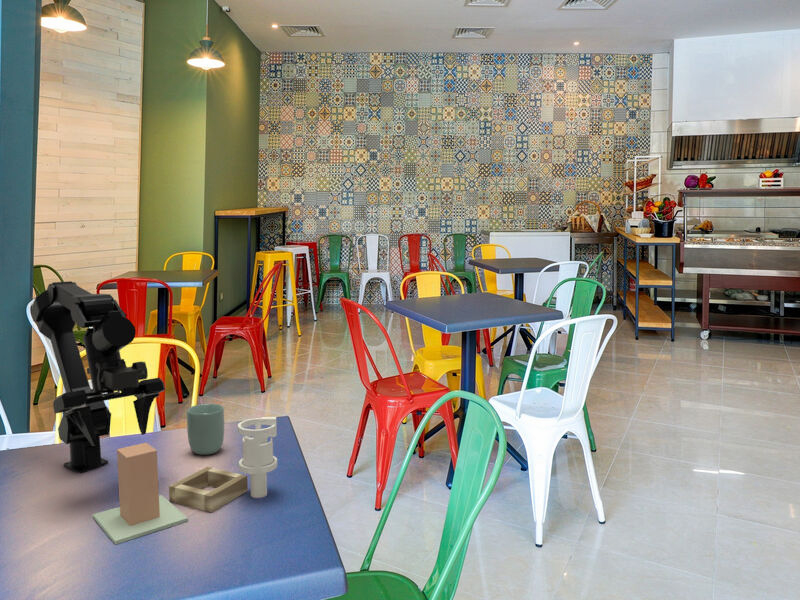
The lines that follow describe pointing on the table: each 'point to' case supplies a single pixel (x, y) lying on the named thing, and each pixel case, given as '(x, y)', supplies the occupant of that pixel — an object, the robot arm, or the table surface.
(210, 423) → the cup
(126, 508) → the block
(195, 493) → the pocket frame
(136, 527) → the mat
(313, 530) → the table surface
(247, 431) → the white flanged cylinder housing
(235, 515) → the table surface
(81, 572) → the table surface
